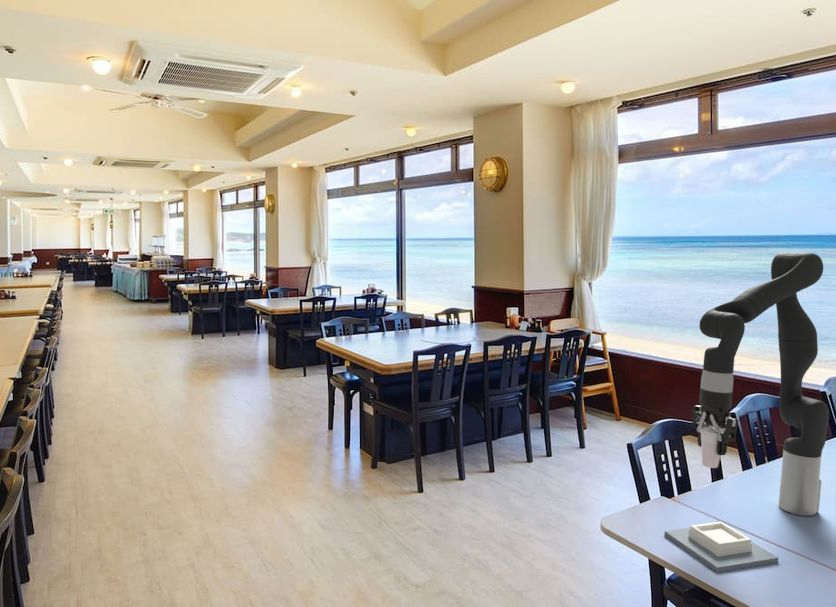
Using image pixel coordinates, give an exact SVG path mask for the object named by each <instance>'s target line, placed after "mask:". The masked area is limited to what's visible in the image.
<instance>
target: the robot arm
mask: <svg viewBox="0 0 836 607" xmlns="http://www.w3.org/2000/svg"><path fill="white" fill-rule="evenodd" d="M823 273H824V262H823V260H822V258H821V257H820V256H819V255H817V253H814V252H802V251H801V252H800V251H792V252H791V251H787V252H786V251H783V252H779V253H777V254H776V255H775V256H774V257H773V259H772V261H771V266H770V276H771V279H770V280H768V281H766V282H765V281H764V282H763V283H759V284H757V285H755V286H752V287H750V288H747V289H746V290H745V291H743V292H742V293H740V294H739V295H737V296H736V297H735V298H733V300H730V301H727V302H725V303H722V304H720V305H718V306H715V307H713V308H711V309H709V310H707V311H706V312H705V313H704V314H703V315H702V316H701V318H700V320H699V323H698V324H699V325H698V326H699V329H700V332H701V333H702V334H703V336H706V337H709V338H712V339H713V338H714V339H719V340H720V341H719V343H718V344H717V347H715V346H714V347H713V346H712V347H708V348H706V349H705V351H704V355H703V367H702V373H701V379H700V388H699V389H700V391H699V402H698V403H699V404H700V405H692V407H691V412H692V415H691V421H692V422H691V424H692V426H691V427H692V428H693V429H695V430H696V432H698V433H697V446H698V447H701V433H700V427H704V426H708V427H709V426H711V427H713V428H714V431H715V432H716V433H717V435H718V436H717V437H718V440H719V441H718V442H717V454H718V455H720V456H725V455H726V454H727V453H728V452H727V451H728V443H729V442H733V441H736V436H737V432H738V431H737V430H738V427H739V419H738V418H732V417H731V416H730V414H729V409H731V407H732V406H733V405H732V402H733V393H734V391H733V390H734V369H735V368H734V367H735V357H736V355H737V351H738V350H739V347H740V345H741V342H742V339H743V337H744V334H745V327H746V325H745V324H748V323H750V322H753V321H754V320H755V319H756V318H757V317H758V318H759V316H760V315H762V314H763V313H764V312H766V311H767V310H768V309H770V308H771V307H773V306H775V307H776V308H775V309H776V314H777V318H776V319H777V327H778V328H777V330H778V331H777V333H778V335H777V336H778V338H777V339H778V350H779V351H778V353H779V360H780V361H779V362H780V365H779V366H780V388H779V389H780V391H779V415H780V417H781V418H780V419H781V420H782V422H784V423H785V424H786V425H788V426H790V427H791V426H792V427H794V428H797V429H800V430H801V435H800V437H789V438H786V439H784V441H783V450H782V461H781V462H782V465H781V474H780V485H779V494H778V495H779V496H778V507H779V508H780V509H781V510H783V511H784V512H788V513H790V514H793V515H796V516H802V517H812V516H816V514H817V513H819V511H820V500H821V499H820V498H821V490H822V480H821V478H820V476H821V464H822V463H821V462H822V456H823V455H822V454H823V450H824V448H825V444H826V439H827V435H828V434H827V433H828V426H829V420H830V410H829V407H828V405H827V403H825V402H824V401H823V400H819V399H816V398H811V397H807V396H804V395H803V390H802V389H803V388H802V387H803V379H804V377H805V375H806V373H807V372H808V371H809V369H810V367H811V366H812V364H813V363H814V362H815V360H816V359H817V356H818V352H819V348H818V347H819V346H818V332H817V328H816V327H815V324H814V323H813V321H812V320H811V318H810V317H809V315H808V314H807V313H806V311H805V309H803V306H802V305H801V304H800V301H799V298H798V294H797V293H799V292H801V291H803V290H804V289H807V288H810V287H811V286H813V285H814V284H816V283H817V282H819V280H820V279H821V277H822V275H823ZM720 428H721V429H720ZM721 432H723V433H724V436H722V433H721Z"/></svg>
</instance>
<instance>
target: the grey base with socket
mask: <svg viewBox="0 0 836 607" xmlns="http://www.w3.org/2000/svg"><path fill="white" fill-rule="evenodd" d="M664 537H665V538H667V539H669V540H670V541H672V542H673V543H675V544H676V545H677V546H679V547H680V548H682V549H683V550H685V551H686V552H687V553H689V554H690V555H691V556H693V557H694V558H695V559H697V560H699V561H700V562H702V563H703V564H704V565H705V566H707V567H709V568H710V569H711V570H713V571H714V572H716V573H721V572H727V571H735V570H741V569H746V568H753V567H759V566H765V565H772V564H777V563H779V557H778V556H776V555H775V554H773V553H771V552H769V551H768V550H767V549H765V548H763V547H761V546H760V545H758V544H756V543H755V542H753V541H752V539H751V538H750V537H748V536H746V535H745V534H743V533H741V532H739V531H738V530H736V529H735V528H733V527H731V526H730V525H728V524H726V523H724V522H722V521H716V522H708V523H700V524H694V525H690V526H689V527H686V528H685V527H684V528H678V529H669V530H664Z"/></svg>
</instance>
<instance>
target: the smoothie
mask: <svg viewBox="0 0 836 607" xmlns="http://www.w3.org/2000/svg"><path fill="white" fill-rule="evenodd" d="M719 428H720V429H722V427H719ZM700 433H701V464H702V465H703V466H704V467H706V468H711V469H718V467H719V463H720V458H721V455H718V454H717V442H718V441H719V440H718V437H717V436H718V435H717V433H716V432H715V431H714V428H713V427H712V426H709V427H708V426H704V427H700ZM721 433H722V436H724V433H723V432H721Z"/></svg>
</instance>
